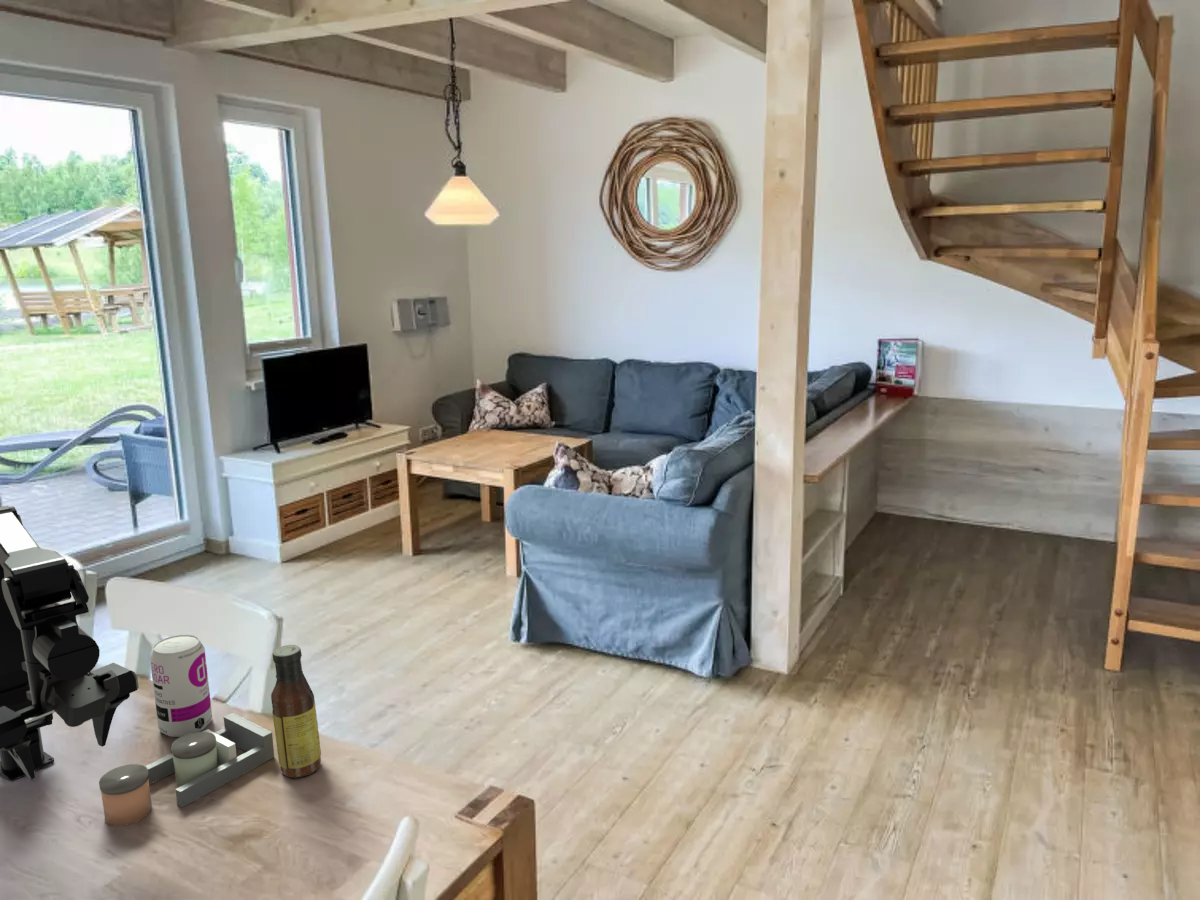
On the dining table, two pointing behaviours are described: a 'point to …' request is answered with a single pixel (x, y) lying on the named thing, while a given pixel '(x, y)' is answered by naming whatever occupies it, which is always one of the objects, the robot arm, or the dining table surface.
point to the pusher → (224, 749)
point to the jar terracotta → (125, 794)
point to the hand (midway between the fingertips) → (67, 761)
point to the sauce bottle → (294, 715)
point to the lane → (245, 738)
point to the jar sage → (194, 756)
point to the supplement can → (180, 685)
